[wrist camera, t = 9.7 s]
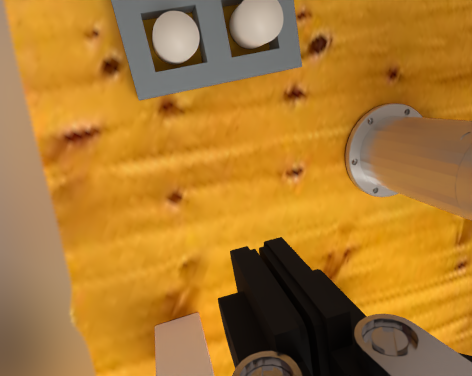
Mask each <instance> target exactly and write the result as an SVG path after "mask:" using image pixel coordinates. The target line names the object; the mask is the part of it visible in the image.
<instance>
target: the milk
mask: <svg viewBox="0 0 472 376" xmlns="http://www.w3.org/2000/svg"><path fill="white" fill-rule="evenodd" d="M155 356H156V376H214V372H213V368H212V364H211V360H210V355H209V351H208V347H207V343H206V339H205V335H204V331H203V327H202V324H201V320H200V316H199V313H198V312H197V313H194V314H191V315H188V316H185V317H181V318H178V319H175V320H172V321H169V322H166V323H163V324H159V325H156V326H155Z"/></svg>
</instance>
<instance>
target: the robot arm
mask: <svg viewBox="0 0 472 376" xmlns="http://www.w3.org/2000/svg"><path fill="white" fill-rule="evenodd" d="M345 159H346V167H347V171H348V174H349V176H350V178H351V180H352V182H353V183H354V184H355V186H357V187H358V188H359V189H360V190H361V191H363V192H365V193H367V194H370V195H372V196H377V197H388V196H392V195H396V194H398V193H400V194H402V195H405V196H408V197H410V198H413V199H416V200H418V201H421V202H424V203H426V204H429V205H431V206H434V207H437V208H439V209H442V210H445V211H447V212H450V213H453V214H455V215H458V216H461V217H463V218H466V219H469V220H472V121H466V120H451V119H436V118H423V117H422V116H421V115H420V114H419V113H418V111H416V110H415V109H413V108H412V107H410V106H407V105H404V104H385V105H381V106H378V107H376V108H374V109H372V110H371V111H369V112H368V113H366V114H365V115H364V116H363V117H362V118H361V119H360V120H359V121H358V123H357V124H356V126H355V127H354V128H353V130H352V132H351V134H350V137H349V139H348V143H347V146H346V154H345ZM259 253H260V255H259V254H258V252H257V251H256V250H255V249H253V250H250V249H249V248H248V247H247V246H246V247H242V248H239V249H235V250H231V251H230V255H231V260H232V265H233V271H234V276H235V281H236V286H237V291H238V293H234V294H231V295H228V296H224V297H221V298H218V303H219V308H220V312H221V317H222V322H223V326H224V330H225V334H226V338H227V342H228V346H229V349H230V352H231V356H232V359H233V362H234V366H235V371H234V373H233V375H232V376H472V356H469V355H465V354H461V353H457V352H455V351H454V350H453V349H451V348H450V347H448V346H447V345H445V344H444V343H442V342H441V341H439V340H438V339H436V338H435V337H433V336H432V335H430V334H429V333H428V332H426V331H425V330H423V329H422V328H420V327H419V326H417V325H416V324H414V323H413V322H411V321H409V320H407V319H405V318H402V317H399V316H396V315H390V314H375V315H371V316H368V317H366V316H365V315H364V314H363V312H362V311H361V310H360V309H359V308H358V307H357V306H356V305H355V304H354V303H353V302H352V301H351V300H350V299H349V298H348V297H347V296H346V295H345V294H344V293H343V292H342V291H341V290H340V289H339V288H338V287H337V286H336V285H335V284H334V283H333V282H332V281H331V280H330V279H329V278H328V277H327V276H326V275H325V274H324V273H323V272H322V271H321V270H319V269H317V270H313V271H312V269H311V268H310V267H309V266H308V265H307V264H306V263H305V262H304V261H303V260H302V259H301V258H300V257H299V255H298V254H297V253H296V252H295V251H294V250H293V249H292V248H291V247H290V246H289V245H288V244H287V242H286V241H285V240H284V239H283V238H282V237H280V238H276V239H272V240H269V241H265V242H264V247H260V248H259Z"/></svg>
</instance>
